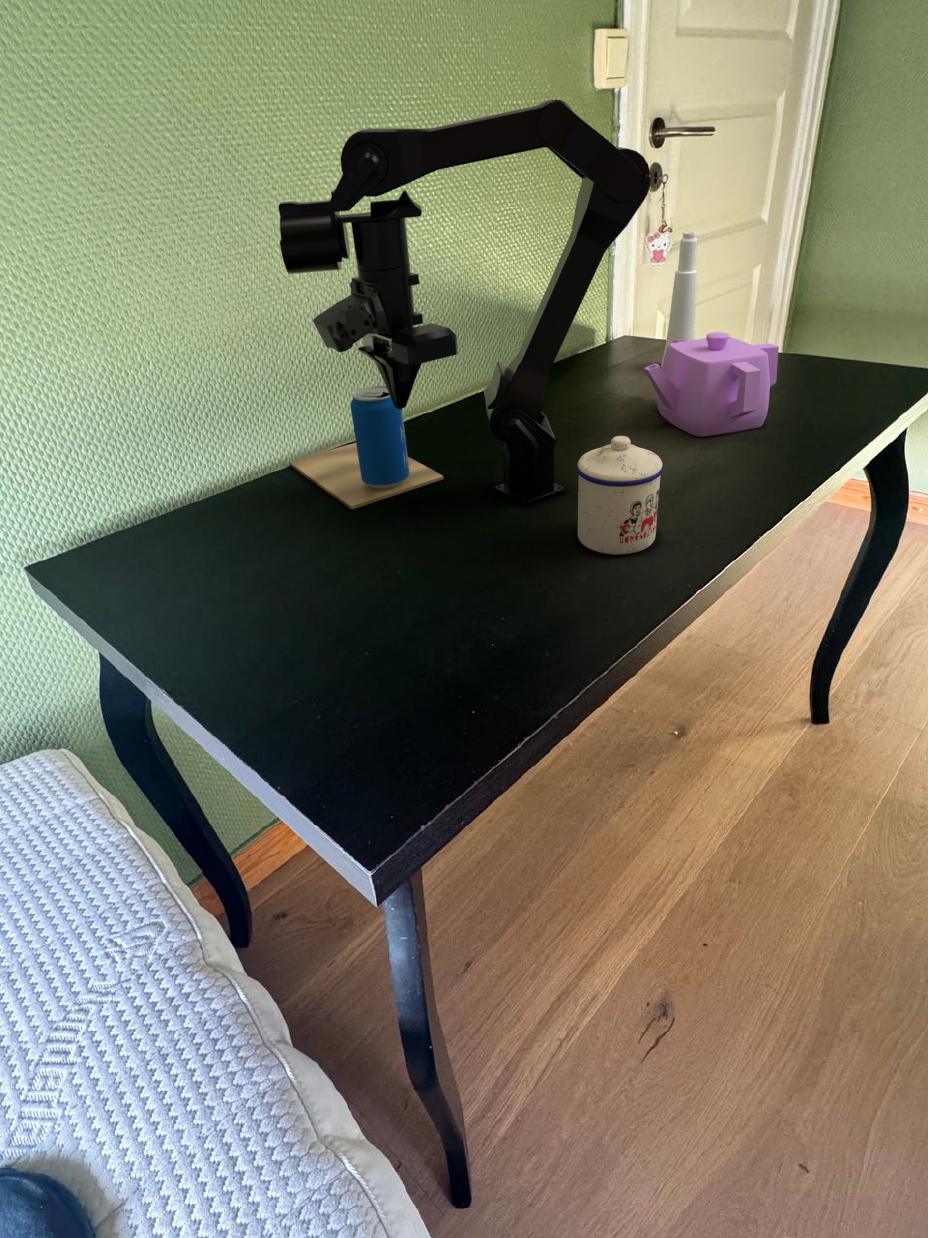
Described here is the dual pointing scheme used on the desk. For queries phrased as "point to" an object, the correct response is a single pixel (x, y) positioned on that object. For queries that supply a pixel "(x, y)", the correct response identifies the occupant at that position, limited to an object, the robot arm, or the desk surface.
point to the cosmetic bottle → (684, 293)
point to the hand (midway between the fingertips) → (400, 407)
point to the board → (356, 476)
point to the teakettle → (715, 384)
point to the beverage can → (379, 438)
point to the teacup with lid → (618, 497)
